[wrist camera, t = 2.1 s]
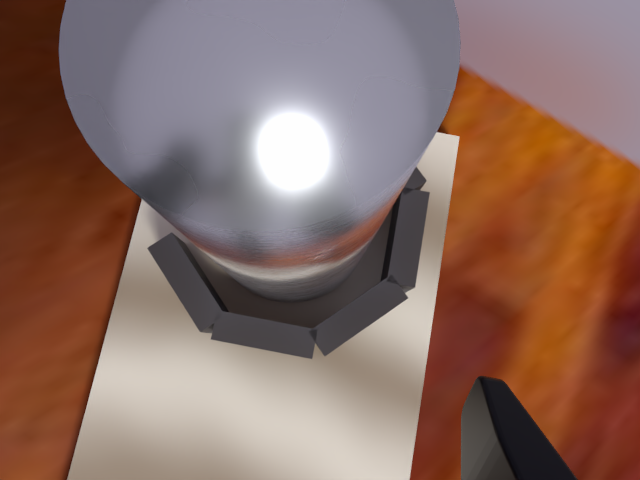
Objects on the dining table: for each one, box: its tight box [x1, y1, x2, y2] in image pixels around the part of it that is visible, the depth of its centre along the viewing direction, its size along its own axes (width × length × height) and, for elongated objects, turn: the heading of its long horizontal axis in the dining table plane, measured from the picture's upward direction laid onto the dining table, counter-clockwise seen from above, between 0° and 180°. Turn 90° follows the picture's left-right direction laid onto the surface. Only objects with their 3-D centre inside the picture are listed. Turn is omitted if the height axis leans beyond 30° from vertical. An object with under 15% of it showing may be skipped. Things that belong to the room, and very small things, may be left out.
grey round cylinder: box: [59, 0, 460, 303], centre depth 14 cm, size 6×6×13 cm
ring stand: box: [67, 132, 459, 480], centre depth 19 cm, size 19×12×3 cm, turn 169°
